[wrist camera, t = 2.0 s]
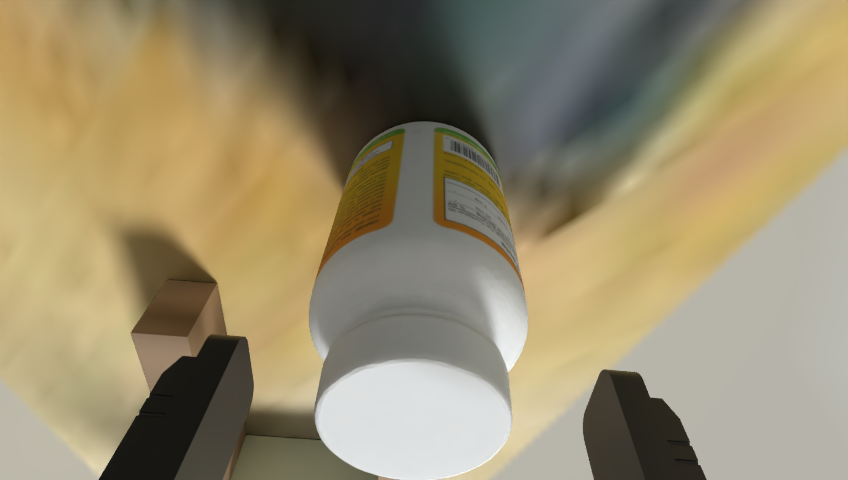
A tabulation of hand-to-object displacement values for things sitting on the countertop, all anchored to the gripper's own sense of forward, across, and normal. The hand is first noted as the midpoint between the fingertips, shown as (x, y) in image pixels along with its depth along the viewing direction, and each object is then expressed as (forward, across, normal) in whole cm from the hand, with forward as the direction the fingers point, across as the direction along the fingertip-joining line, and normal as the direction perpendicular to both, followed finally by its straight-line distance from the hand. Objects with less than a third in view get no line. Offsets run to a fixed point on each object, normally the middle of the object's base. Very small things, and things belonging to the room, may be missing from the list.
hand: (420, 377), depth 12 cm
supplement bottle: (+8, 0, 0) cm, 8 cm away
